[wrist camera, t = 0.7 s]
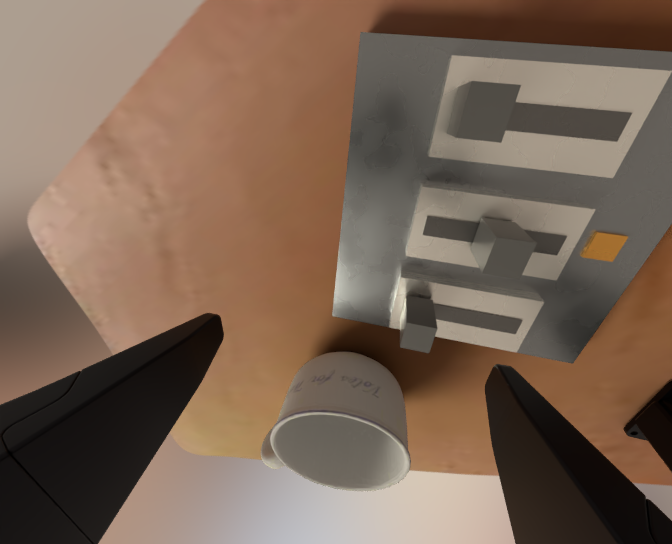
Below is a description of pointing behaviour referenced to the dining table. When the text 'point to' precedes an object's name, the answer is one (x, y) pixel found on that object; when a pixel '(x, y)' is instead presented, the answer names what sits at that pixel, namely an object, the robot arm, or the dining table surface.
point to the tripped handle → (502, 248)
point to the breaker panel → (504, 187)
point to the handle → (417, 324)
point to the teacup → (342, 425)
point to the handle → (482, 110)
